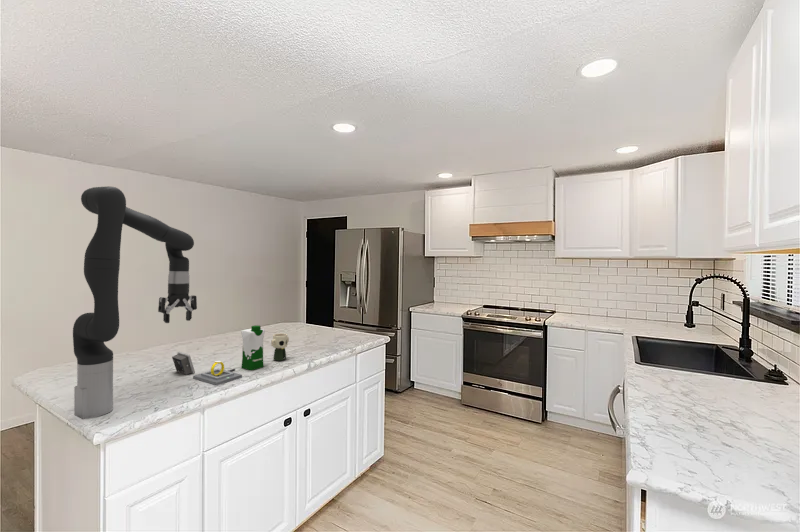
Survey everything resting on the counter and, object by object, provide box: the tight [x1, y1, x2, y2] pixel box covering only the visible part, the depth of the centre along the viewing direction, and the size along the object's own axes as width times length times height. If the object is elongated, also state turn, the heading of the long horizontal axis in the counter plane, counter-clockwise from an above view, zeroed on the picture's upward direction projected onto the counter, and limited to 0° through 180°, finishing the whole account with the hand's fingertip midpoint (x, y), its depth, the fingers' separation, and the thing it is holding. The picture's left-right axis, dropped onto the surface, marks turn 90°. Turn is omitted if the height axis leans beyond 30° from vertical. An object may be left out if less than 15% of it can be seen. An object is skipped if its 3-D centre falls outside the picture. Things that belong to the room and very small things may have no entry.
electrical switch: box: [171, 351, 196, 376], centre depth 164 cm, size 9×5×9 cm, turn 57°
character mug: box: [270, 332, 290, 361], centre depth 188 cm, size 11×7×13 cm, turn 149°
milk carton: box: [240, 324, 266, 371], centre depth 175 cm, size 9×9×20 cm
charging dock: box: [192, 368, 243, 386], centre depth 162 cm, size 17×16×2 cm
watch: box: [210, 360, 225, 376], centre depth 159 cm, size 6×3×6 cm, turn 160°
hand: (177, 321), depth 151 cm, fingers open, 8 cm apart
